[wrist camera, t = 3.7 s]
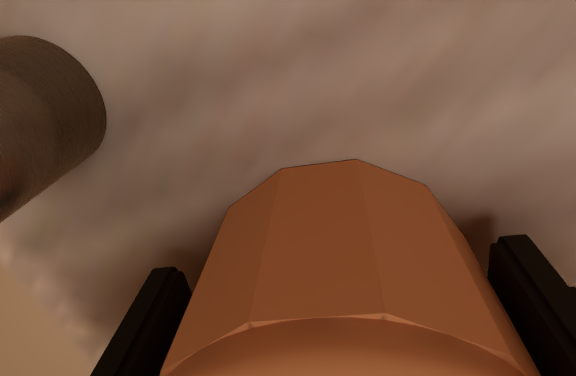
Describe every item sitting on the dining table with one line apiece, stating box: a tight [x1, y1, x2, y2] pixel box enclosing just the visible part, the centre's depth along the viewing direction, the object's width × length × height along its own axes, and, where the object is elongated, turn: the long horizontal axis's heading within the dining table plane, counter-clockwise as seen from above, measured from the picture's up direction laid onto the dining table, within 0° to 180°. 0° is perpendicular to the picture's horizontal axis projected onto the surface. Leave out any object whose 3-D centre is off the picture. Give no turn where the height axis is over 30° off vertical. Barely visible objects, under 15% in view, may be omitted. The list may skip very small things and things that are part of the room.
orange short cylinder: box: [160, 159, 541, 376], centre depth 9 cm, size 7×7×6 cm
